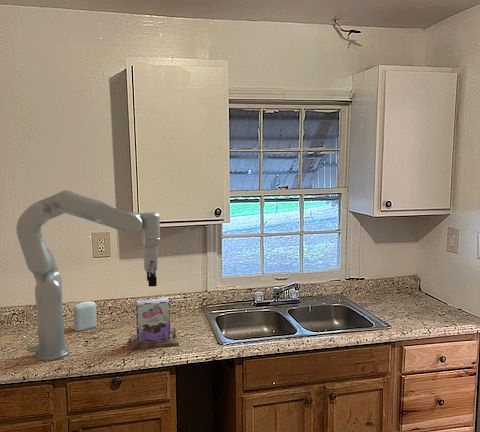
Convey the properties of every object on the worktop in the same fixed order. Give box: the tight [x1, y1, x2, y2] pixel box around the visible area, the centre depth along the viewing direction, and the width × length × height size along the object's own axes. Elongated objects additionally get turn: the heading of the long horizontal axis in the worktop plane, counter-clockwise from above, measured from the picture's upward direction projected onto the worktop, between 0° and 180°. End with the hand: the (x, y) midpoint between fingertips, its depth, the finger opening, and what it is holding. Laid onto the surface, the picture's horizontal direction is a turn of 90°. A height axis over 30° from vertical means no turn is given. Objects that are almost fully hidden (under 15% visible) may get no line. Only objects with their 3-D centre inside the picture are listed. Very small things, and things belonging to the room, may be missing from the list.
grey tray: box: [130, 326, 180, 351], centre depth 206 cm, size 19×14×5 cm
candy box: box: [135, 297, 171, 342], centre depth 205 cm, size 14×6×16 cm, turn 104°
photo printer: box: [72, 300, 98, 332], centre depth 222 cm, size 10×4×12 cm, turn 134°
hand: (151, 283), depth 203 cm, fingers open, 9 cm apart
